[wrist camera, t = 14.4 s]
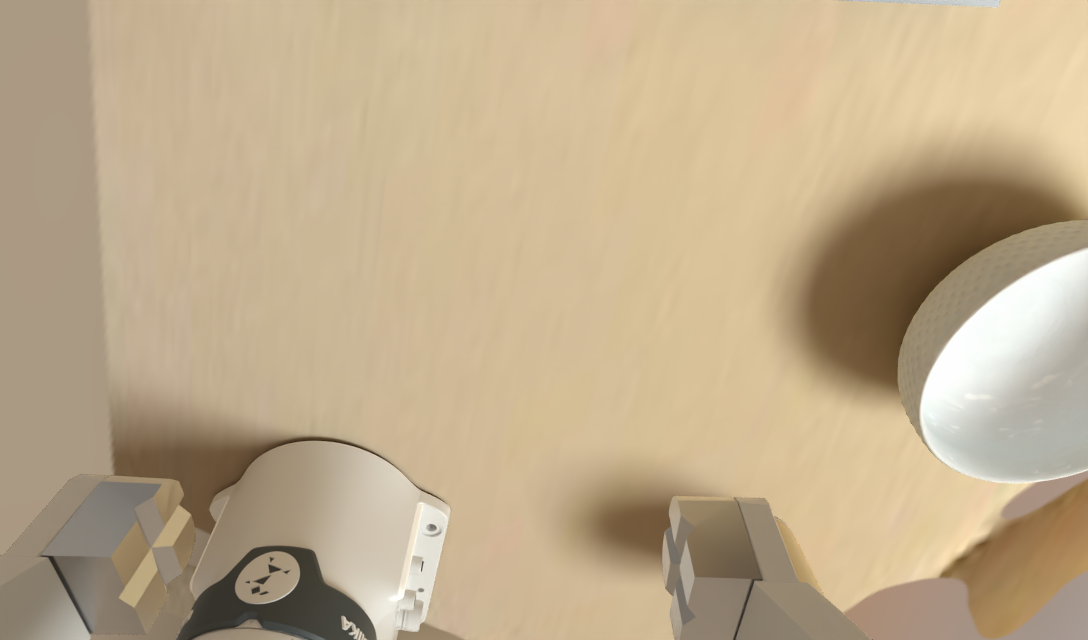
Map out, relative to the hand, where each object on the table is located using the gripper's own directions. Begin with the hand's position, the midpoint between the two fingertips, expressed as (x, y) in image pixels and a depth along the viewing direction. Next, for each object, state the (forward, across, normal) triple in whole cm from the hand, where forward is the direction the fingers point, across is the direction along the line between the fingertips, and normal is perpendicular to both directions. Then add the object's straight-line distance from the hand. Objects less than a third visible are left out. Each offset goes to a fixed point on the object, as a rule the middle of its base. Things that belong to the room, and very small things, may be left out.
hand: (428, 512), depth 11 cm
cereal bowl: (+29, +32, -12) cm, 45 cm away
